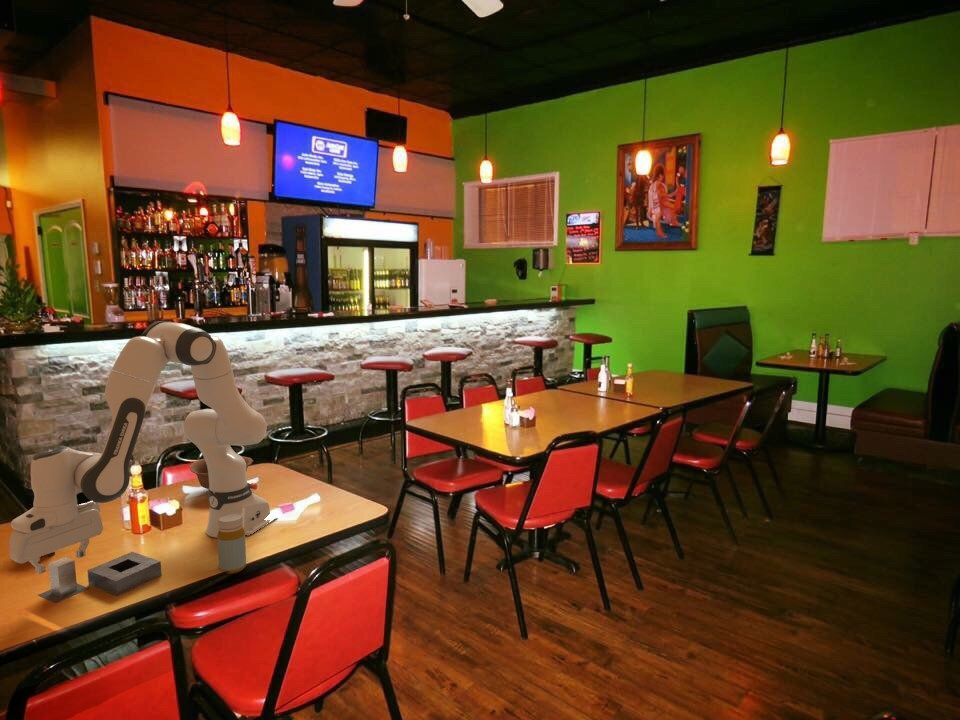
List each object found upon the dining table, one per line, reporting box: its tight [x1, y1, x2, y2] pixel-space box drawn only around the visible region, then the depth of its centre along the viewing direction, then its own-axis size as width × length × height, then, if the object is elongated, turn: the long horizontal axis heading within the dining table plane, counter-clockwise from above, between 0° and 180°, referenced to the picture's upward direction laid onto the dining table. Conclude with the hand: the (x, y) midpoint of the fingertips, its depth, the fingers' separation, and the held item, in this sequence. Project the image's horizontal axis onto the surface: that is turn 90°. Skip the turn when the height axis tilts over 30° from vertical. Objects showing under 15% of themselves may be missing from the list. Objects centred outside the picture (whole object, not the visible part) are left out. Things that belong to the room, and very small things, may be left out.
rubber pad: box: [37, 583, 90, 604], centre depth 153 cm, size 8×8×1 cm
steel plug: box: [48, 556, 78, 597], centre depth 153 cm, size 4×4×8 cm
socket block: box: [87, 551, 162, 597], centre depth 159 cm, size 12×12×5 cm
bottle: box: [217, 513, 247, 575], centre depth 167 cm, size 7×7×15 cm
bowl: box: [188, 455, 254, 490], centre depth 227 cm, size 22×22×11 cm
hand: (61, 564), depth 152 cm, fingers open, 8 cm apart
